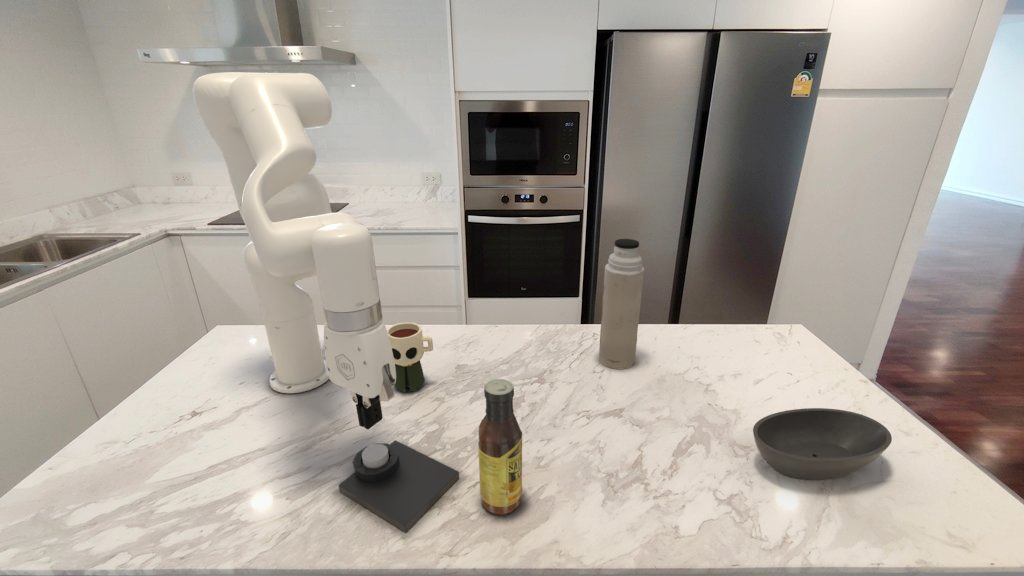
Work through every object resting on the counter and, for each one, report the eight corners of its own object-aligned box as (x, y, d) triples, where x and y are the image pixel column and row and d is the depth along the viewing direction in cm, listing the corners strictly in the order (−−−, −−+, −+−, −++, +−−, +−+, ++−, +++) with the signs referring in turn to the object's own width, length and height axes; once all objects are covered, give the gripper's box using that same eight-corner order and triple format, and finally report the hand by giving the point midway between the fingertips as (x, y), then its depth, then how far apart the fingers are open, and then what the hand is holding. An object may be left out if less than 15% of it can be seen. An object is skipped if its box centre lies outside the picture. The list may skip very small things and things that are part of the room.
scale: (333, 488, 75) (330, 473, 73) (390, 443, 84) (388, 429, 83) (406, 533, 67) (403, 517, 66) (459, 478, 76) (458, 463, 75)
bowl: (729, 446, 82) (735, 416, 80) (843, 431, 85) (852, 402, 83) (775, 501, 71) (784, 469, 69) (904, 482, 74) (917, 450, 72)
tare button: (357, 463, 76) (356, 455, 75) (376, 448, 79) (375, 440, 78) (375, 472, 74) (374, 465, 73) (394, 457, 77) (393, 449, 76)
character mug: (380, 396, 97) (372, 339, 92) (386, 376, 103) (379, 322, 98) (434, 393, 97) (429, 337, 92) (437, 374, 104) (433, 320, 99)
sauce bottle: (517, 520, 69) (516, 405, 61) (475, 513, 70) (469, 399, 62) (525, 486, 74) (525, 377, 67) (486, 480, 76) (482, 372, 68)
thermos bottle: (592, 362, 108) (600, 242, 97) (608, 347, 114) (616, 233, 103) (626, 373, 103) (637, 249, 93) (640, 357, 109) (652, 239, 99)
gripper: (296, 312, 67) (319, 420, 74) (370, 337, 60) (388, 455, 67) (340, 294, 73) (357, 396, 80) (412, 315, 66) (424, 425, 72)
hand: (371, 422), depth 73 cm, fingers closed
